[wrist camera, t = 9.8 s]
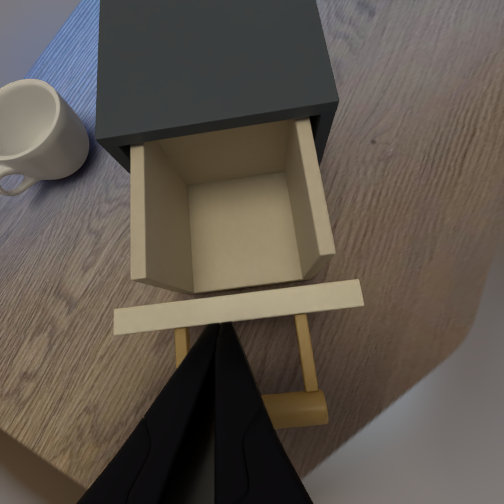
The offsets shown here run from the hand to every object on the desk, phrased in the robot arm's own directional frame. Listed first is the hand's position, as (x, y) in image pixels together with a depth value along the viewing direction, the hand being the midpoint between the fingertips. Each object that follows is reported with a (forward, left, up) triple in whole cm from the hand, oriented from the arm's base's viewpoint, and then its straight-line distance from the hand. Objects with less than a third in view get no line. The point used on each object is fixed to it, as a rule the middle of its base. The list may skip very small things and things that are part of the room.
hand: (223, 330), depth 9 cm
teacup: (+25, +2, -13) cm, 28 cm away
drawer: (+3, -3, -12) cm, 13 cm away
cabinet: (+13, -11, -13) cm, 21 cm away
